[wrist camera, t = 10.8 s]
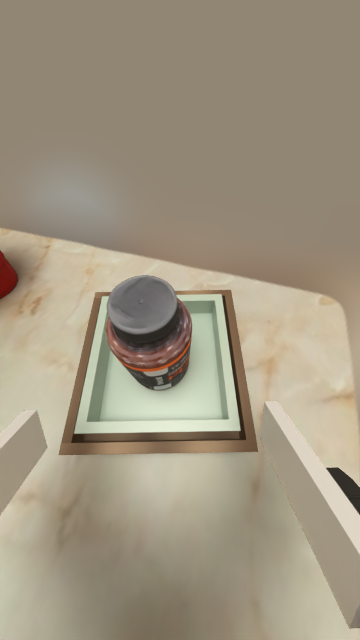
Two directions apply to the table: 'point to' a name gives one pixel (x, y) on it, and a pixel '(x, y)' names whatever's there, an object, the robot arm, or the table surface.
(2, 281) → the plastic cup
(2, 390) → the table surface
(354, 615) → the robot arm
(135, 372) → the supplement bottle
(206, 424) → the grey-green crate
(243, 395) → the walnut crate
